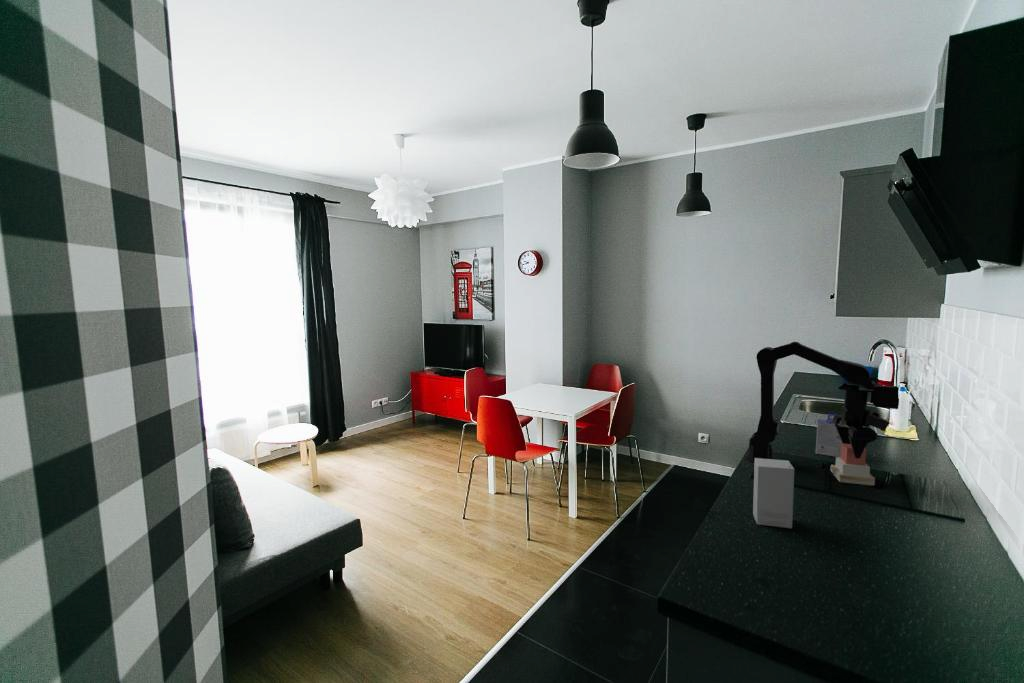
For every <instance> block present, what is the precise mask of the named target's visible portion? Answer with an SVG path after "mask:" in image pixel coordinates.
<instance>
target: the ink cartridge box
mask: <svg viewBox="0 0 1024 683" xmlns="http://www.w3.org/2000/svg"><path fill="white" fill-rule="evenodd" d="M836 415H837V414H835V413H834V414H832V413H828V414H827V419H824V418H821V419H820V418H818V419H817V423H816V439H815V440H816V441H815V452H814V453H815V454H816V455H817V454H818V455H823V456H830V457H835V458H836V457H840V458H841V445H842V441H841V439H840V436H839V434H838V432H837V430H836V427H835V426H834V425H835V424H834V423H833V417H834V416H836ZM831 417H832V418H831Z"/></svg>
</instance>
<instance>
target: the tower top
mask: <svg viewBox="0 0 1024 683" xmlns="http://www.w3.org/2000/svg"><path fill="white" fill-rule="evenodd" d="M834 465H835V466H836V467H837V468H838V470H839V471H840V472H841V473H842V474H848V475H858V476H867V477H869V475H870V474H871V473H870V471H871V467H870V466H869V465H868V464H867V463H866V462H865V466H863V465H853V464H846V463H845V462H844V461H843V460H842V459H841V457H835V464H834Z"/></svg>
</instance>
